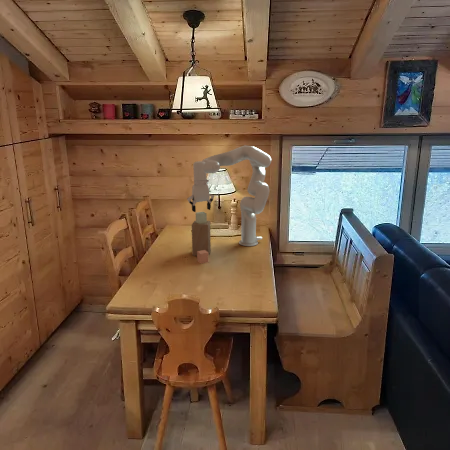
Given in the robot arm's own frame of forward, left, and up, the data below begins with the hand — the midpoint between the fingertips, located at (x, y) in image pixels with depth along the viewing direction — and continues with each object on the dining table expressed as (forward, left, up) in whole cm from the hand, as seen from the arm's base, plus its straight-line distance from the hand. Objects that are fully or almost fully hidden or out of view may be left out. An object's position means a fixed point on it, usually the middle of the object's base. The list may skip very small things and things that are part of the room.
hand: (201, 210), depth 252 cm
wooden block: (+1, 0, -28) cm, 28 cm away
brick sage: (0, 0, -8) cm, 8 cm away
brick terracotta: (+5, +13, -28) cm, 31 cm away
